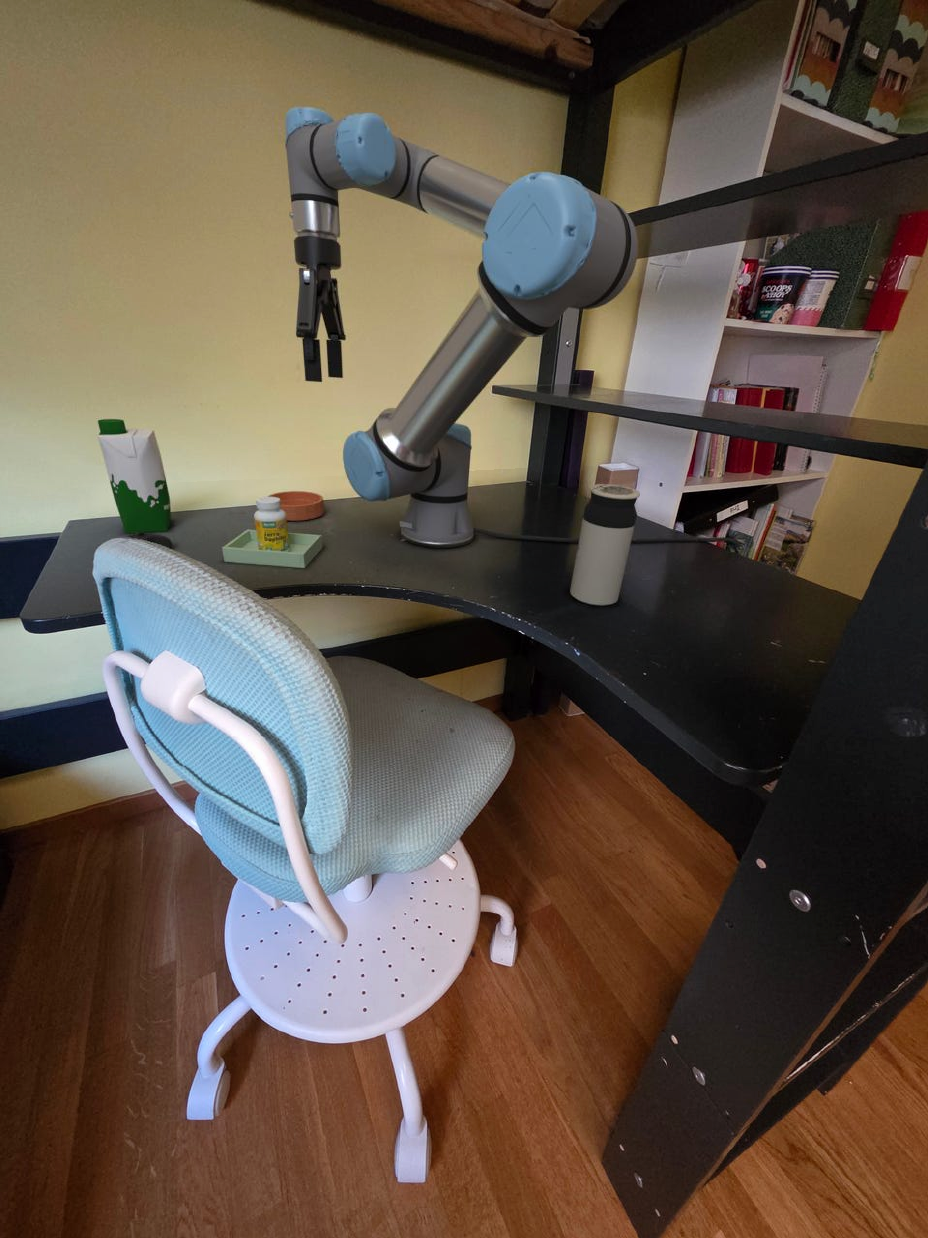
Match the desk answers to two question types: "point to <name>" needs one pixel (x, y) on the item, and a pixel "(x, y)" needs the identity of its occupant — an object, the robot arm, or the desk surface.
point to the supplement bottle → (271, 525)
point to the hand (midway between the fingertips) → (325, 379)
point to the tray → (248, 551)
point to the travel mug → (604, 544)
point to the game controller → (153, 538)
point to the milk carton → (135, 476)
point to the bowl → (300, 504)
